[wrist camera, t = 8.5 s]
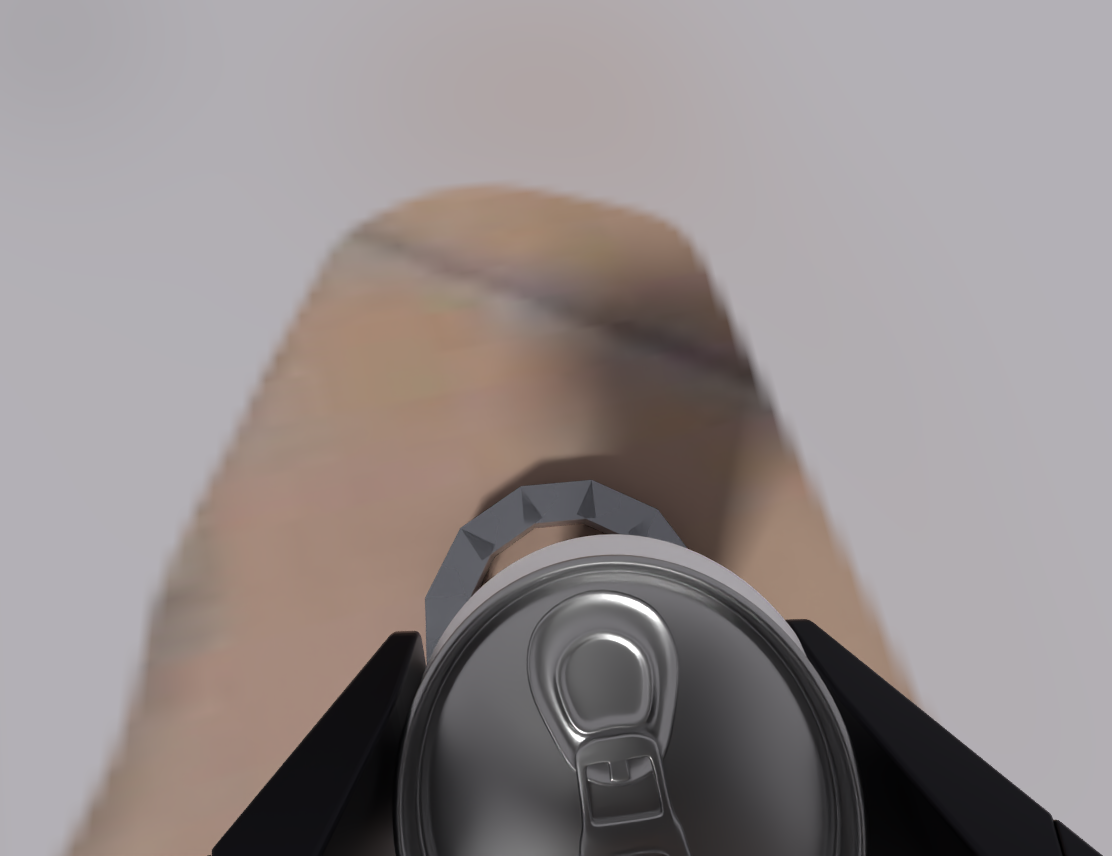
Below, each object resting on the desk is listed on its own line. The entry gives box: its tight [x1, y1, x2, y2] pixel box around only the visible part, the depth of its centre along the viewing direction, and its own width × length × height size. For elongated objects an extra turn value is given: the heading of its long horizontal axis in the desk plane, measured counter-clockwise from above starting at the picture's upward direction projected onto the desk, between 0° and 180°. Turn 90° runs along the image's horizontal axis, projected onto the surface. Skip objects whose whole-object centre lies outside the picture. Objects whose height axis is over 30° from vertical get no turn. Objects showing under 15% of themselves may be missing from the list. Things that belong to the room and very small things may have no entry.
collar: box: [425, 480, 688, 664], centre depth 21 cm, size 10×10×2 cm
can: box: [392, 534, 870, 856], centre depth 12 cm, size 6×6×12 cm
